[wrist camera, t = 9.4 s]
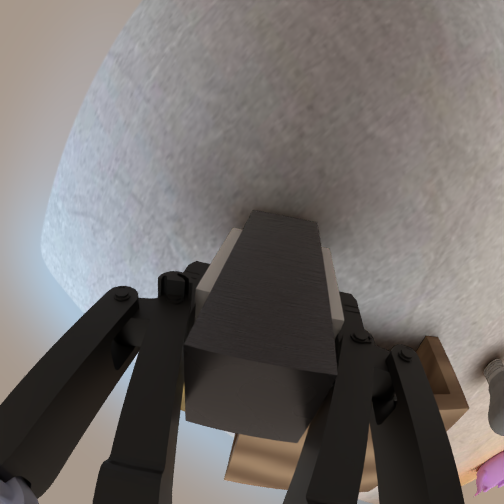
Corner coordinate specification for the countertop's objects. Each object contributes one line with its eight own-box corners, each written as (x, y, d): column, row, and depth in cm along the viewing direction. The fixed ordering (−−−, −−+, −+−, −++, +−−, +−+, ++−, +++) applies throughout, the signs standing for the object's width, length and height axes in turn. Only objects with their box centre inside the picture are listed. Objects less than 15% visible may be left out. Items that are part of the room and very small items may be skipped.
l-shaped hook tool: (253, 209, 18) (183, 344, 7) (317, 222, 17) (337, 374, 7) (222, 412, 27) (193, 510, 16) (258, 420, 27) (239, 519, 16)
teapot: (516, 449, 33) (523, 474, 25) (472, 476, 38) (477, 501, 30) (517, 439, 30) (526, 467, 22) (468, 469, 35) (474, 498, 28)
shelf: (268, 307, 22) (252, 393, 15) (438, 337, 21) (469, 408, 14) (238, 418, 30) (224, 479, 22) (364, 434, 29) (368, 491, 21)
